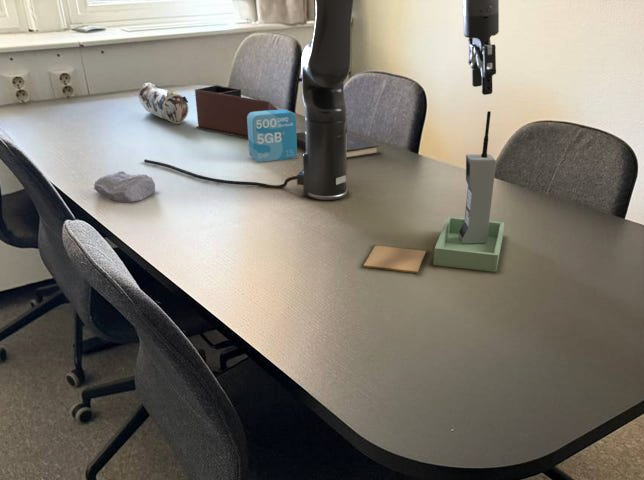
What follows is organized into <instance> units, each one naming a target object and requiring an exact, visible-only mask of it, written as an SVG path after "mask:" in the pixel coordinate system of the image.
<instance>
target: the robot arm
mask: <svg viewBox="0 0 644 480" xmlns="http://www.w3.org/2000/svg"><path fill="white" fill-rule="evenodd" d="M354 2H355V0H315V22H314V30H313V37H312V39H311V40H310V41H309V42H308V43H307V44H306V45H305V47H304V48H303V51H302V55H301V86H302V102H303V108H304V126H305V127H304V130H305V131H304V132H305V137H306V150H305V152H304V153H303V155H302V169H301V170H300V172H298V173H297V174H296V175H294V176H290V177H288V178H286V179H285V180H284V182H283V183H282V184H275V185H274V184H267V183H264V182H263V183H262V182H257V181H239V180H229V179H220V178H214V177H209V176H205V175H200V174H197V173H195V172H191V171H188V170H185V169H182V168H180V167H177V166H174V165H171V164H168V163H164V162H161V161H156V160H152V159H151V160H150V159H146V158H145V159H143V162H144V163H146V164H151V165H155V166H160V167H165V168H168V169H171V170H174V171H176V172H179V173H181V174H185V175H187V176H191V177H193V178H196V179H200V180H204V181H208V182H212V183H213V182H214V183H218V184H227V185H237V186H256V187H262V188H268V189H269V188H270V189H283V188H286V187H287V185H288V183H289V182H292V181H294V180H295V181H296V185H297V186H303V197H308V198H310V199H314V200H319V201H335V200H339V199H340V200H341V199H343V198H345V197H346V196H347V193H348V192H347V191H348V189H347V188H348V187H347V165H348V164H347V162H348V161H347V160H348V159H347V133H348V107H347V102H346V98H345V89H344V88H345V87H344V86H345V84H344V83H345V81H346V80H347V78H348V76H349V74H350V70H351V64H352V61H351V60H352V59H351V57H352V56H351V55H352V54H351V53H352V50H351V49H352V48H351V47H352V45H351V44H352V43H351V42H352V38H351V37H352V18H353V17H352V16H353V9H354V4H355V3H354ZM499 2H500V1H499V0H462V10H463V11H462V16H463V36H464V37H465V38H467V43H468V45H467V46H468V62H467V63H468V65H470V66H469V67H470V69H471V80H472V81H471V86H472V87H475V88H476V87H477V88H478V87H481V94H482V95H483V96H486V95H491V94H493V77H494V75H496V74H497V60H496V59H497V58H496V56H497V54H496V52H497V51H496V47H497V46H496V44H492V43H491V37H493V36H494V37H495V36H496V35H498V34H499V32H500V24H499V23H500V13H499V12H500V7H499V5H500V3H499Z"/></svg>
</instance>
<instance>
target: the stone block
mask: <svg viewBox="0 0 644 480" xmlns="http://www.w3.org/2000/svg"><path fill="white" fill-rule="evenodd" d="M154 181H155V180H153V177H151V176H149V175H148V174H144V173H143V174H140V173H136V174H132V175H131V174H128V173H126V172H125V171H118V172H117V173H116V172H115V173H111V174H106V175H103V176H100V177H99V178H98V179H97V180H95V181H94V183H93V184H94V187H93V188H94V190H95V191H96V193H98V194H99V195H102V196H103V197H106V198H108V199H111V200H113V201H116V202H118V203H132V202H138V201H143V200H144V199H146V198H148V197H150V196H152V195H154V194H155V193H156V183H155V182H154Z"/></svg>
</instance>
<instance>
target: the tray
mask: <svg viewBox="0 0 644 480" xmlns="http://www.w3.org/2000/svg"><path fill="white" fill-rule="evenodd" d="M464 221H465V217H455V216H446V219H445V222H444V224H443V227H442V229H441V232H440V233H439V236H438V238H437V240H436V244H435V246H434V251H433V263H432V264H433V266H441V267H449V268H456V269H465V270H473V271H483V272H491V273H492V272H493V273H496V272H497V270H498V263H499V259H500V253H501V248H502V243H503V237H504V230H505V222H503V221H495V220H489V227H488V235H487V243H485V244H462V242H461V240H460V238H459V236H458V235H459V231H460V229H461V227H462V226H463V224H464Z"/></svg>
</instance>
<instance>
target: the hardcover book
mask: <svg viewBox="0 0 644 480" xmlns="http://www.w3.org/2000/svg"><path fill="white" fill-rule="evenodd" d="M296 136H297V148H300V149H303V150H305V151H306V137H305V131H302V132H296ZM379 147H380V146H379V145H378V144H377V143H373V142H370V141H367V140H366V139H363V138H360V137H358V136H355V135H353V134H350V133H348V132H347V160H348V159H354V158H355V159H356V158H361V157H368V156H374V155H379V152H378V151H377V150H378V148H379Z"/></svg>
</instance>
